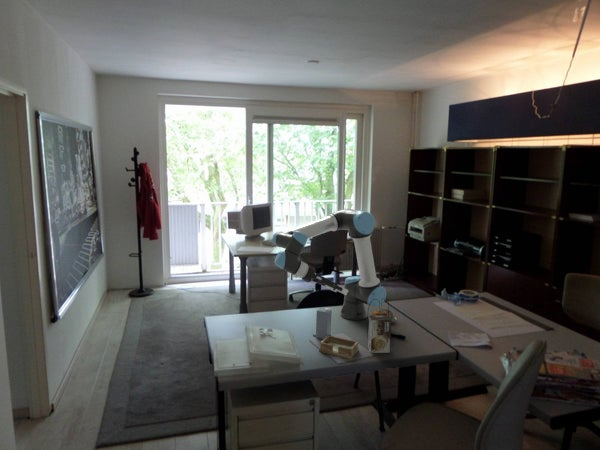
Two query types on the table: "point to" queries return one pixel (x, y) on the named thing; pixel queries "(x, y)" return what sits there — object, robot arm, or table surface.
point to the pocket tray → (339, 346)
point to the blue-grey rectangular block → (323, 323)
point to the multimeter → (378, 313)
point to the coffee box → (379, 334)
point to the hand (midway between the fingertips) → (341, 291)
